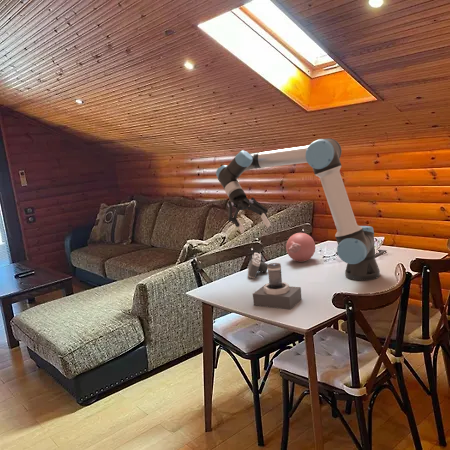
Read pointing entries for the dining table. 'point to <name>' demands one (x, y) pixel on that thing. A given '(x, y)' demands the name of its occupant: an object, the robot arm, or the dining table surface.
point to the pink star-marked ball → (300, 247)
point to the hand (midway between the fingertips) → (256, 228)
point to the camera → (256, 266)
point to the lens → (275, 275)
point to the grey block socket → (277, 296)
